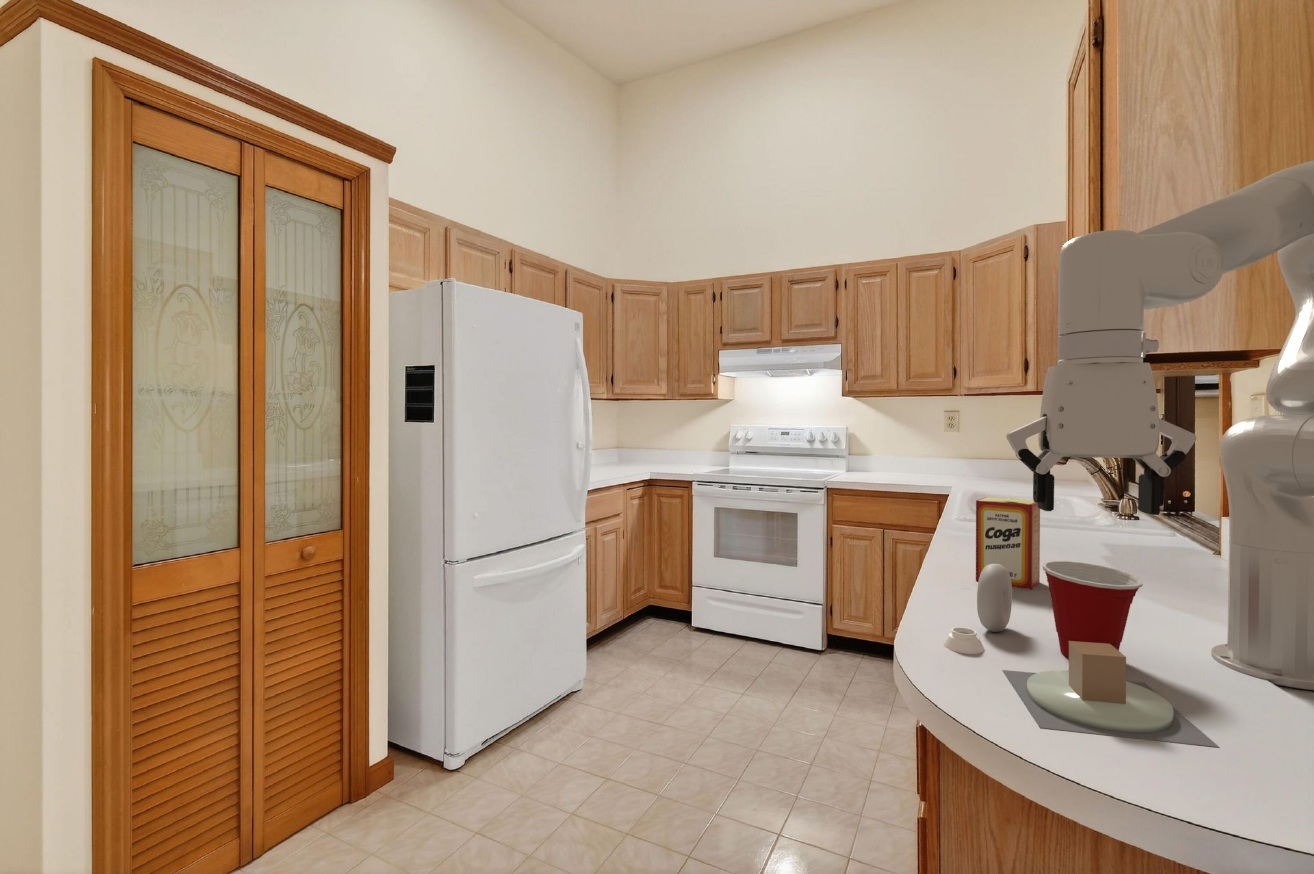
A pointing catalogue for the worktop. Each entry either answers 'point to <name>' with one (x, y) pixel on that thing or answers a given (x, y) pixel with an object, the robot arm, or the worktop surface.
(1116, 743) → the worktop surface
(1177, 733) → the mat
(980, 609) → the donut
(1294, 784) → the worktop surface
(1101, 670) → the lid
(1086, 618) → the plastic cup
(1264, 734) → the worktop surface
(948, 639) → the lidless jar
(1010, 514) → the baking soda box
